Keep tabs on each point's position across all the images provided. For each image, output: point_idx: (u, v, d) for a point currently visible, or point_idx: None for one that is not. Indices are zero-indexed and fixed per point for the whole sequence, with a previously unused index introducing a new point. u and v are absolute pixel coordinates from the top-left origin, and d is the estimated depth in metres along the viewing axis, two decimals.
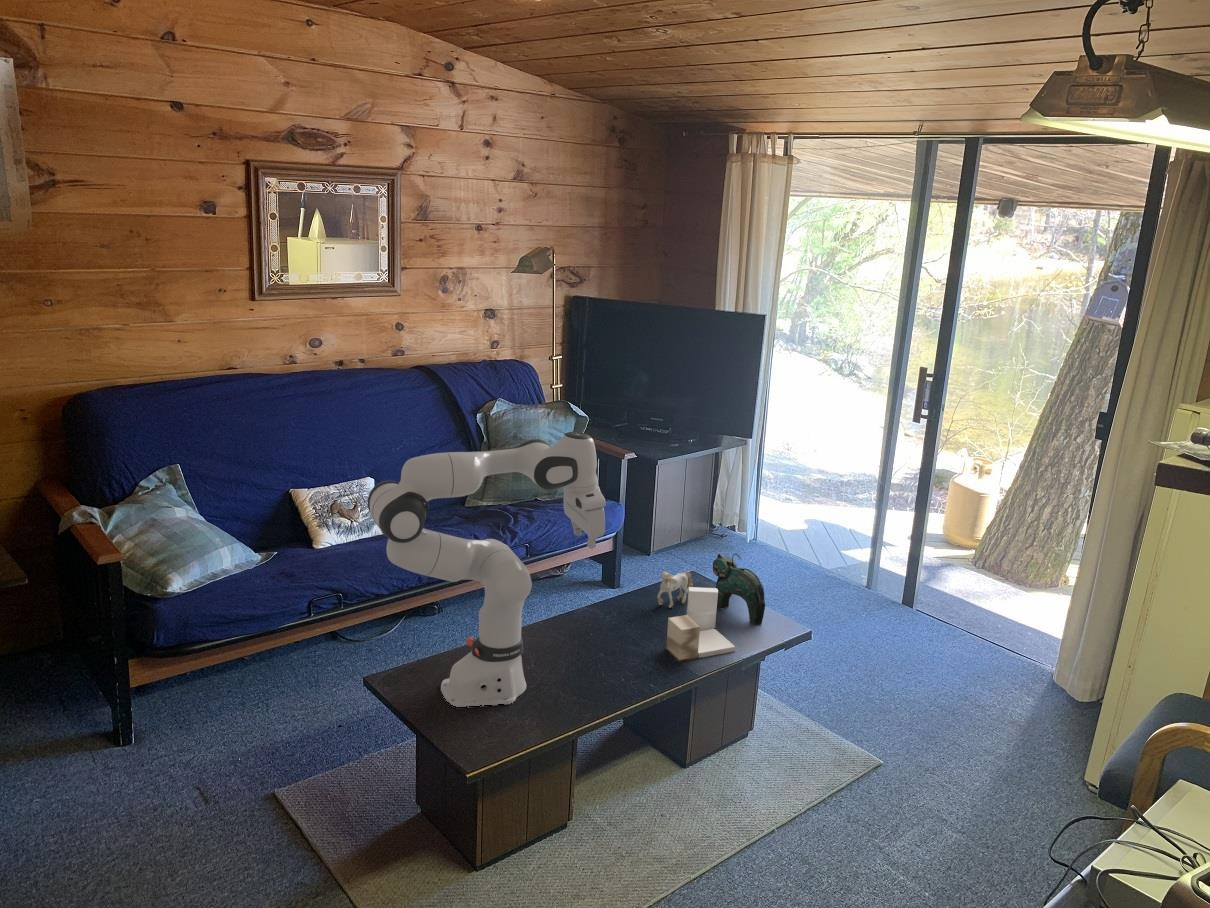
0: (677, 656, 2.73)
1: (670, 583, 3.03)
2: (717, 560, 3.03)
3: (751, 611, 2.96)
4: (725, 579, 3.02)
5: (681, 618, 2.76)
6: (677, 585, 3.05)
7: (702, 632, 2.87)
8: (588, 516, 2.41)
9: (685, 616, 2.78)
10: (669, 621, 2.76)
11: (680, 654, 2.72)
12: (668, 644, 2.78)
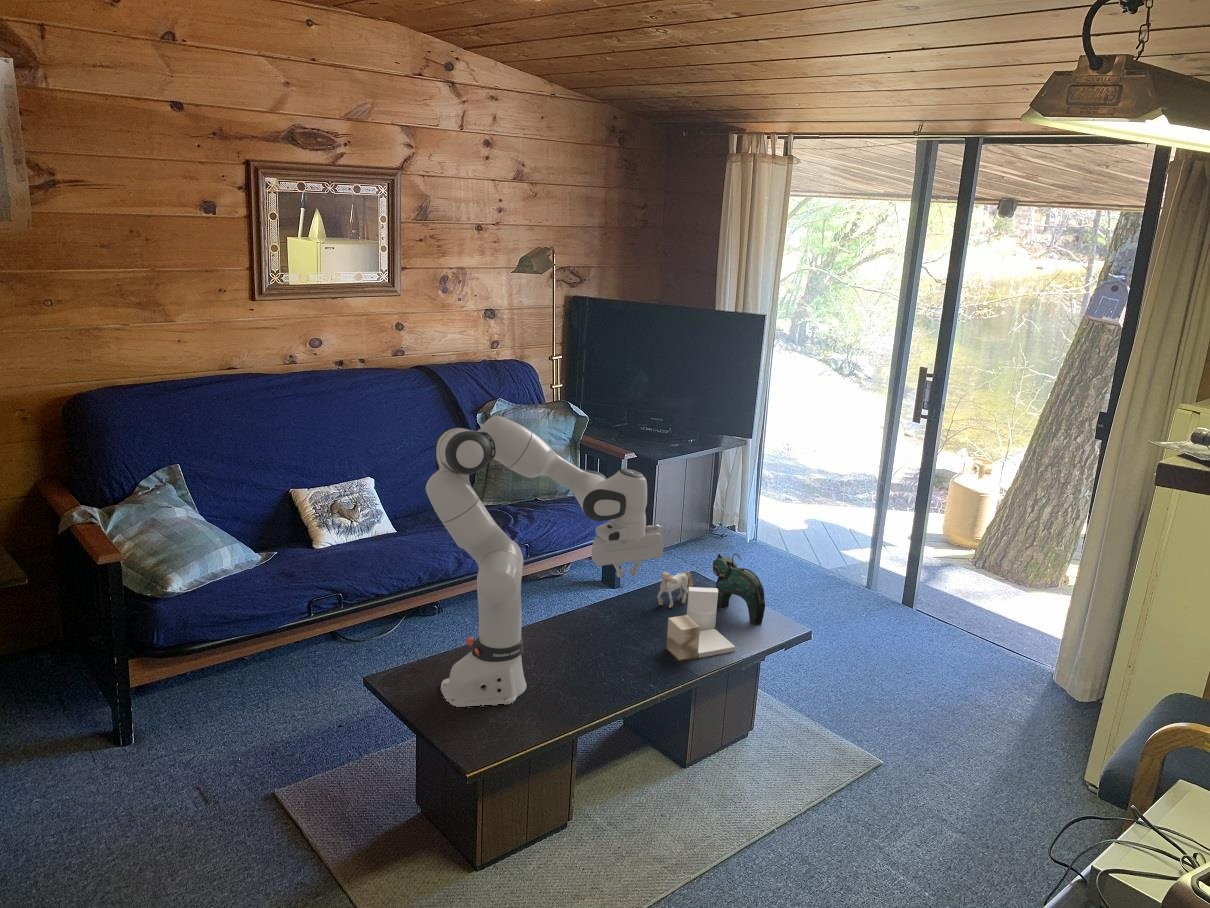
0: (677, 656, 2.73)
1: (670, 583, 3.03)
2: (717, 560, 3.03)
3: (751, 611, 2.96)
4: (725, 579, 3.02)
5: (681, 618, 2.76)
6: (677, 585, 3.05)
7: (702, 632, 2.87)
8: (594, 539, 2.57)
9: (685, 616, 2.78)
10: (669, 621, 2.76)
11: (680, 654, 2.72)
12: (668, 644, 2.78)
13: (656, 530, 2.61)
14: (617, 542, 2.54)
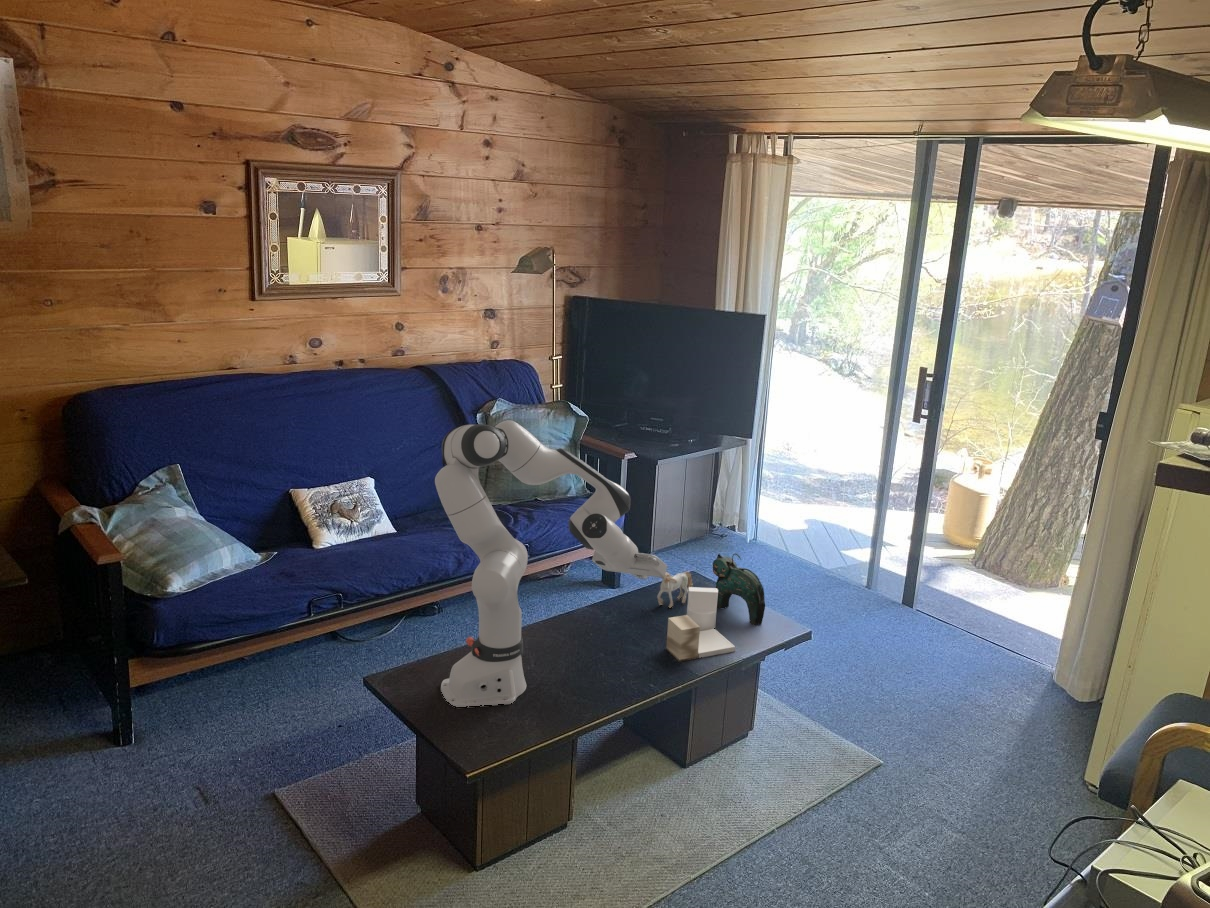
0: (677, 656, 2.73)
1: (670, 583, 3.03)
2: (717, 560, 3.03)
3: (751, 611, 2.96)
4: (725, 579, 3.02)
5: (681, 618, 2.76)
6: (677, 585, 3.05)
7: (702, 632, 2.87)
8: None
9: (685, 616, 2.78)
10: (669, 621, 2.76)
11: (680, 654, 2.72)
12: (668, 644, 2.78)
13: (648, 560, 2.55)
14: None
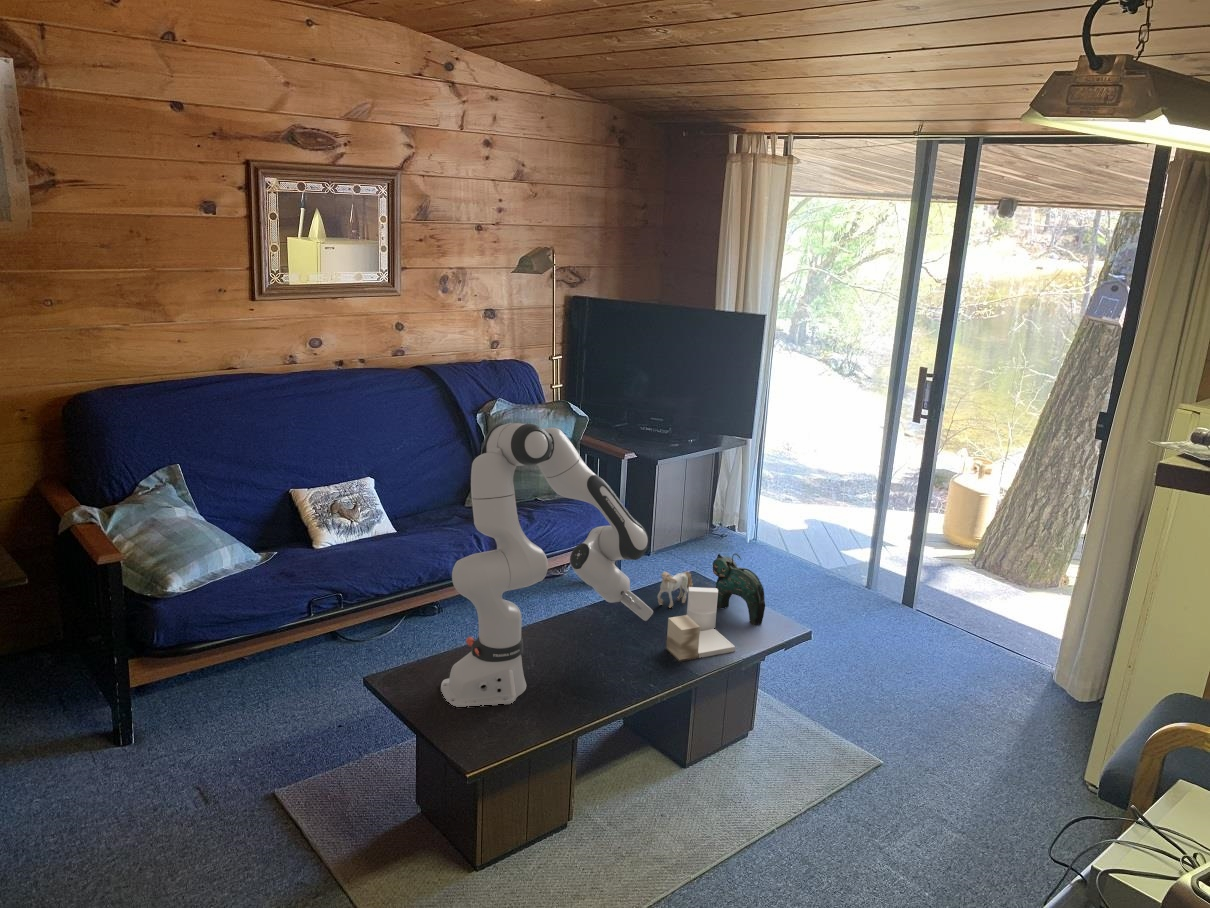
0: (677, 656, 2.73)
1: (670, 583, 3.03)
2: (717, 560, 3.03)
3: (751, 611, 2.96)
4: (725, 579, 3.02)
5: (681, 618, 2.76)
6: (677, 585, 3.05)
7: (702, 632, 2.87)
8: None
9: (685, 616, 2.78)
10: (669, 621, 2.76)
11: (680, 654, 2.72)
12: (668, 644, 2.78)
13: (630, 601, 2.58)
14: None
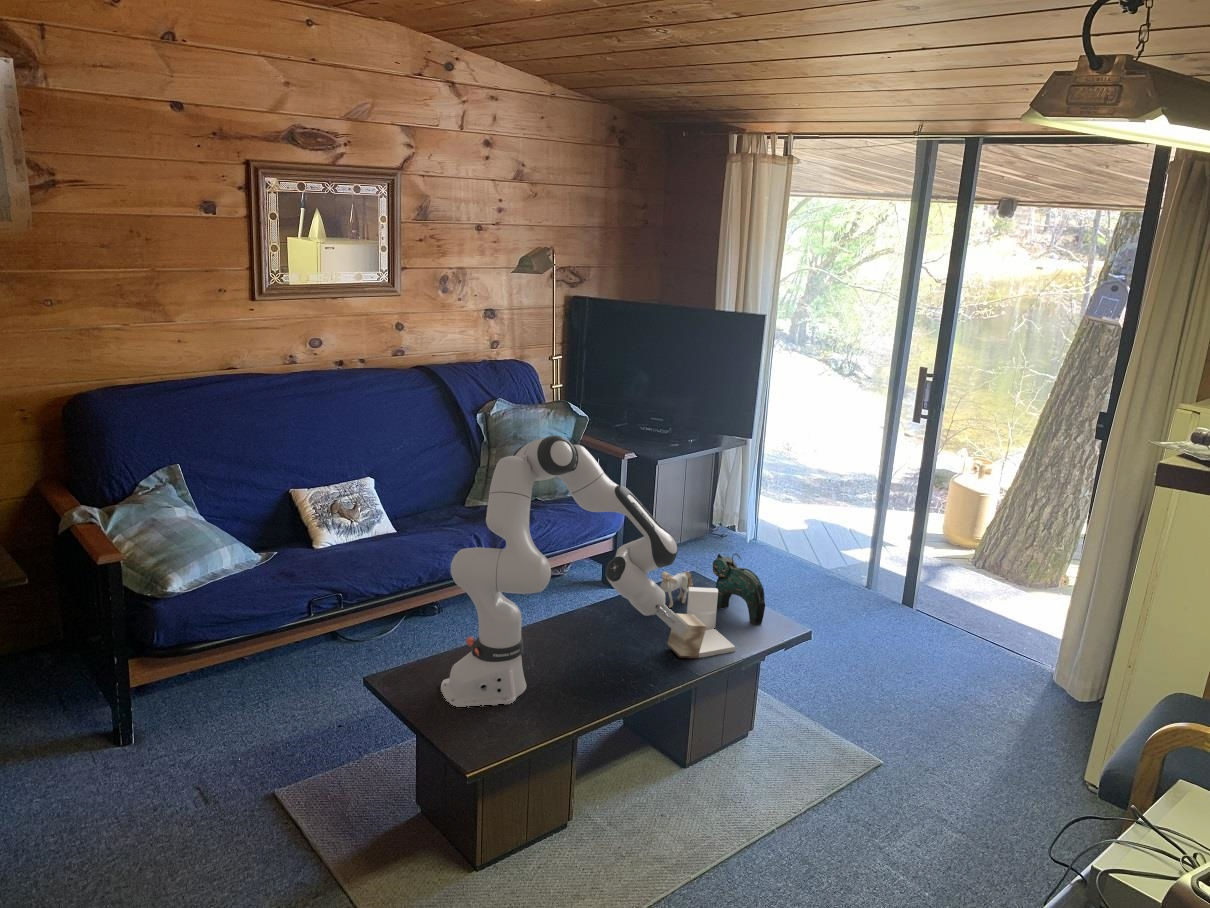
0: (678, 652, 2.73)
1: (670, 583, 3.03)
2: (717, 560, 3.03)
3: (751, 611, 2.96)
4: (725, 579, 3.02)
5: (688, 616, 2.77)
6: (677, 585, 3.05)
7: None
8: None
9: (692, 615, 2.79)
10: None
11: (682, 650, 2.72)
12: (670, 640, 2.78)
13: (664, 615, 2.61)
14: None
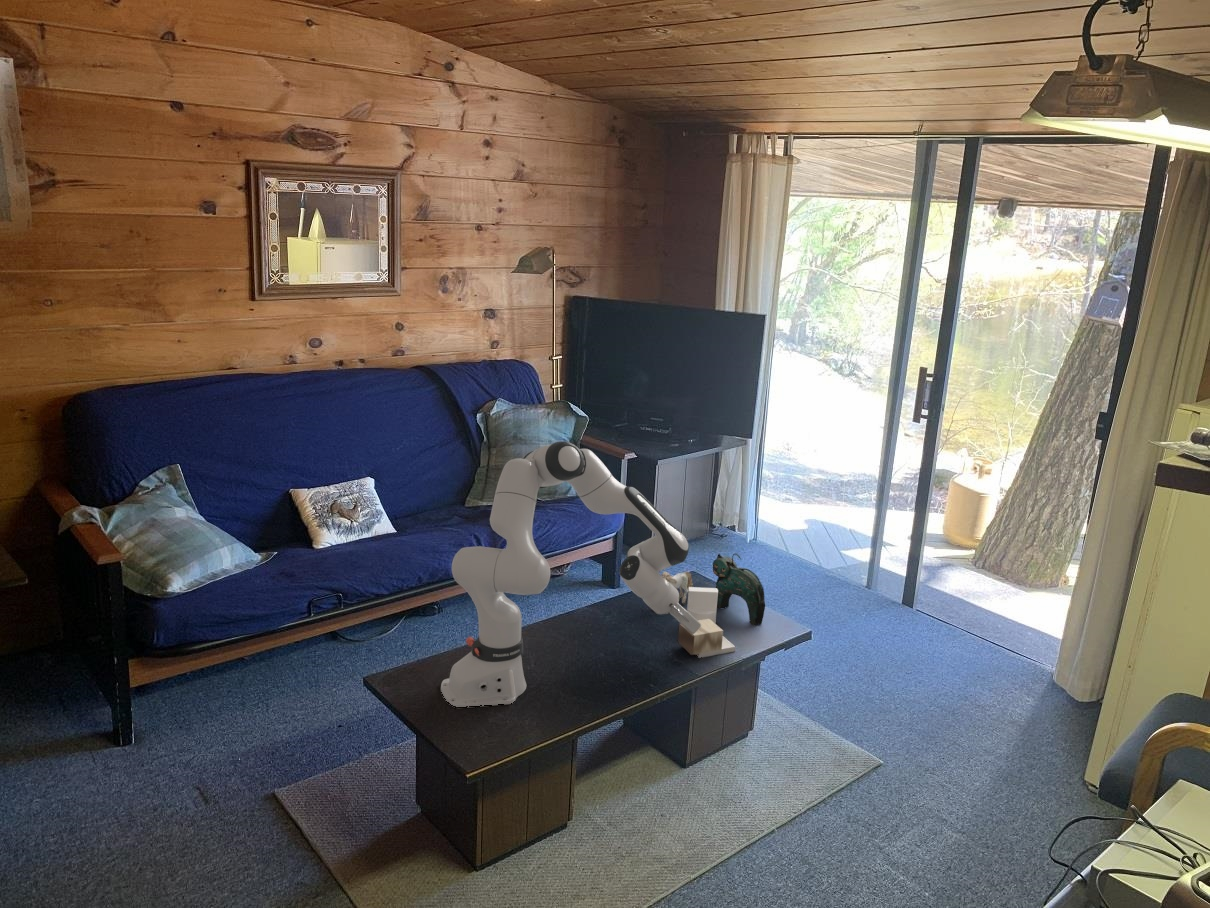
0: (694, 633, 2.73)
1: (670, 583, 3.03)
2: (717, 560, 3.03)
3: (751, 611, 2.96)
4: (725, 579, 3.02)
5: None
6: (677, 585, 3.05)
7: None
8: None
9: None
10: (708, 620, 2.82)
11: (699, 635, 2.73)
12: None
13: (678, 614, 2.62)
14: None
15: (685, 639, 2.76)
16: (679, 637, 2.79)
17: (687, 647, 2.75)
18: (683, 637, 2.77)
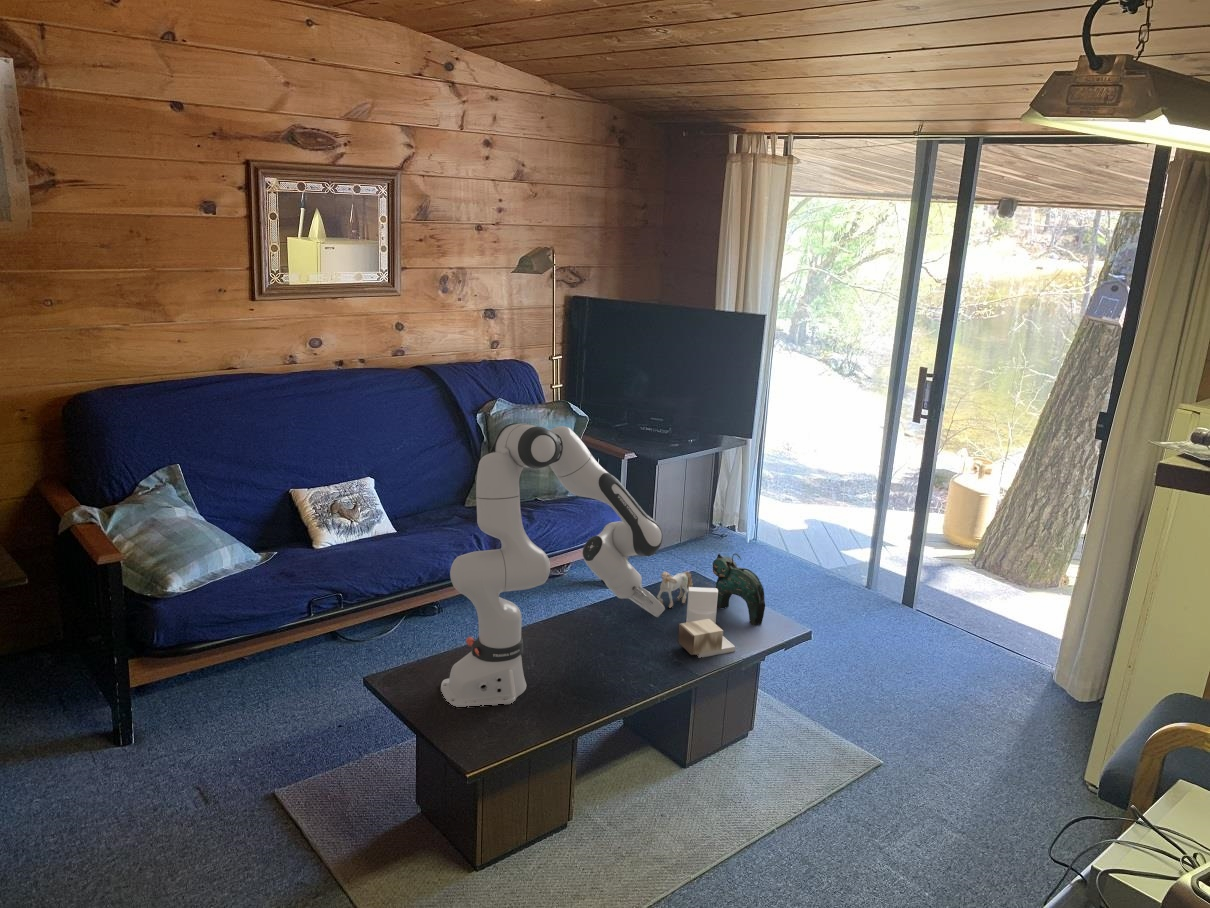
0: (694, 633, 2.73)
1: (670, 583, 3.03)
2: (717, 560, 3.03)
3: (751, 611, 2.96)
4: (725, 579, 3.02)
5: None
6: (677, 585, 3.05)
7: None
8: None
9: None
10: (708, 620, 2.82)
11: (699, 635, 2.73)
12: (687, 624, 2.78)
13: (642, 596, 2.56)
14: None
15: (685, 639, 2.76)
16: (679, 637, 2.79)
17: (687, 647, 2.75)
18: (683, 637, 2.77)
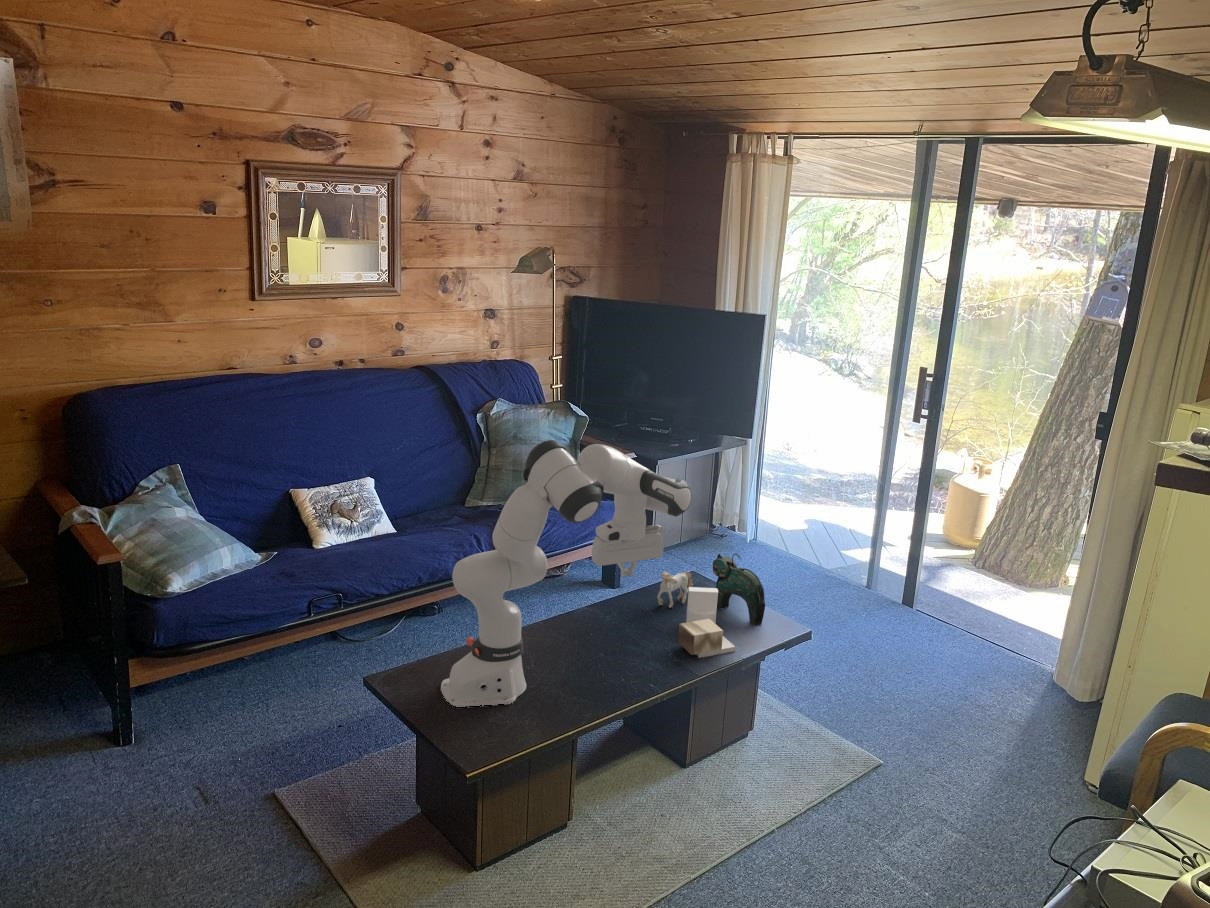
0: (694, 633, 2.73)
1: (670, 583, 3.03)
2: (717, 560, 3.03)
3: (751, 611, 2.96)
4: (725, 579, 3.02)
5: None
6: (677, 585, 3.05)
7: None
8: (594, 539, 2.57)
9: None
10: (708, 620, 2.82)
11: (699, 635, 2.73)
12: (687, 624, 2.78)
13: (656, 530, 2.61)
14: (617, 542, 2.54)
15: (685, 639, 2.76)
16: (679, 637, 2.79)
17: (687, 647, 2.75)
18: (683, 637, 2.77)
